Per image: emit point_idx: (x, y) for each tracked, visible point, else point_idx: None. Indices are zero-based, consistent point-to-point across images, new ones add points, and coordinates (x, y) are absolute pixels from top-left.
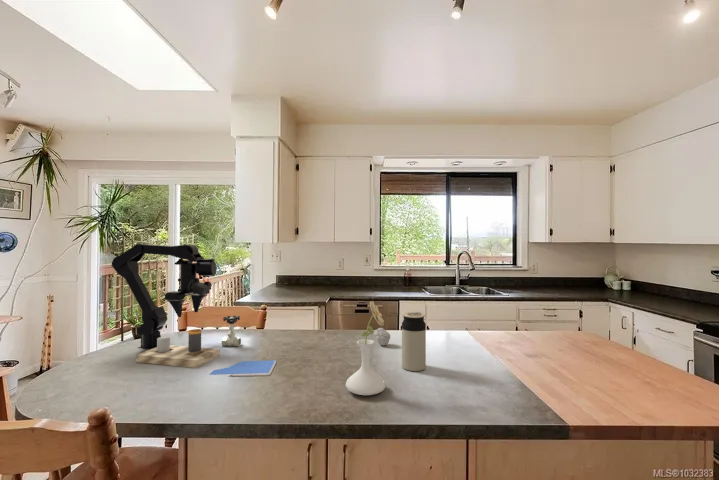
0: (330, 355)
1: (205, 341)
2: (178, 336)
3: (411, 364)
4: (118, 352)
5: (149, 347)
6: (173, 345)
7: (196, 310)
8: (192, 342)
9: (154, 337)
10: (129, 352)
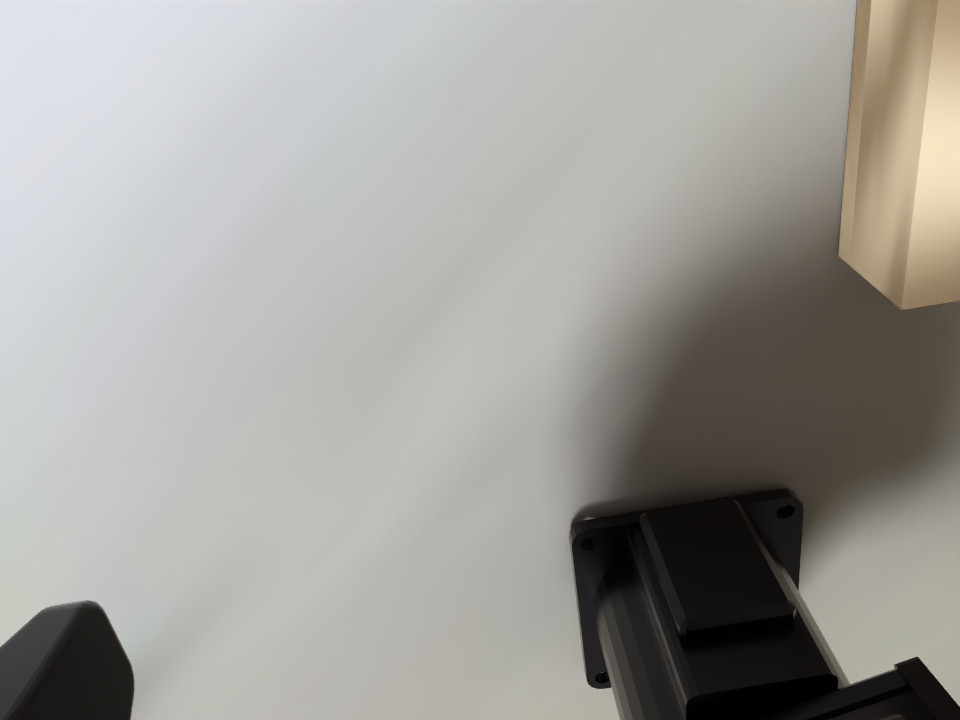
0: None
1: (88, 122)
2: (162, 691)
3: None
4: None
5: (769, 546)
6: (928, 100)
7: (72, 684)
8: None
9: (793, 615)
10: (896, 614)
